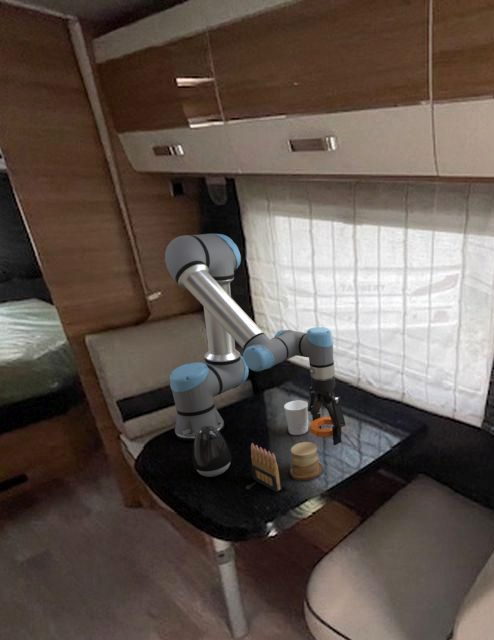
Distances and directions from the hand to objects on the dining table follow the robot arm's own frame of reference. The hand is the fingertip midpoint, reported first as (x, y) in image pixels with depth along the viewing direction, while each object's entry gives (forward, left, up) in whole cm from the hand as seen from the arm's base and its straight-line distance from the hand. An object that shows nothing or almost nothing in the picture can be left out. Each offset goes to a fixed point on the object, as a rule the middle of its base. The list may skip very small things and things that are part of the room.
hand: (327, 437), depth 141 cm
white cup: (-13, -3, -2) cm, 13 cm away
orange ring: (0, 0, +3) cm, 3 cm away
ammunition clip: (+7, -26, -2) cm, 27 cm away
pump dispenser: (-9, -34, -2) cm, 35 cm away
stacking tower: (+10, -15, -1) cm, 18 cm away
